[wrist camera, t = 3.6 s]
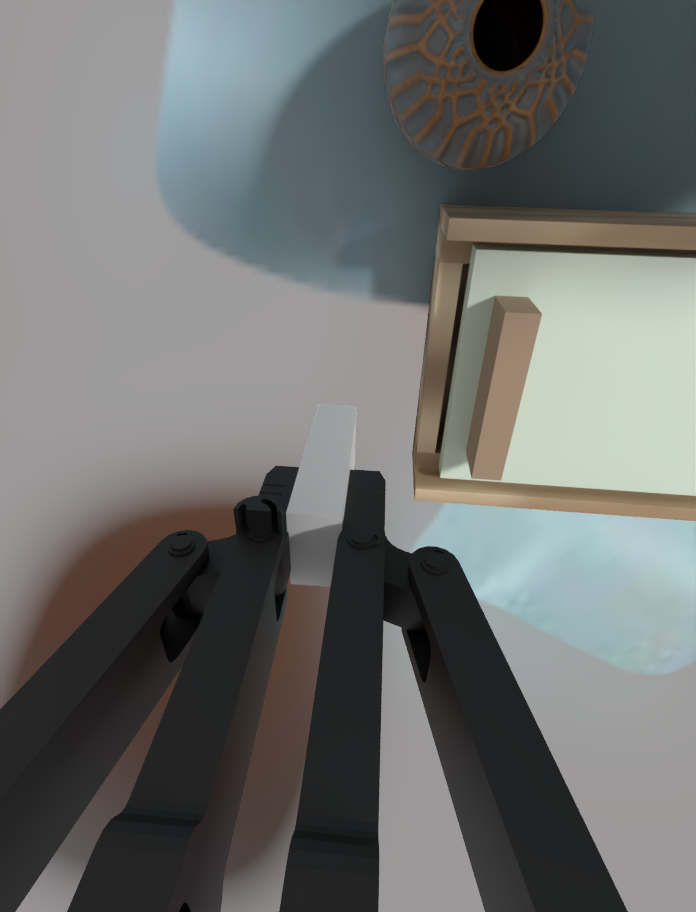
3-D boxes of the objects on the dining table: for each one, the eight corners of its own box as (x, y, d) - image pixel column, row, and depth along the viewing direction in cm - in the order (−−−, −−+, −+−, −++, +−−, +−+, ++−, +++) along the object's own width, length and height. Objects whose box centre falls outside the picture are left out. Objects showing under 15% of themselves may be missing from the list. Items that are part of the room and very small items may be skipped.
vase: (358, 122, 21) (337, 112, 14) (436, -90, 17) (462, -256, 10) (494, 193, 22) (540, 220, 15) (594, 8, 18) (721, -78, 11)
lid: (472, 244, 21) (485, 261, 18) (831, 258, 20) (908, 279, 17) (438, 465, 27) (443, 505, 24) (708, 484, 26) (747, 528, 23)
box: (440, 204, 23) (449, 217, 19) (799, 216, 22) (890, 234, 18) (412, 452, 30) (414, 500, 26) (675, 470, 29) (718, 522, 25)
